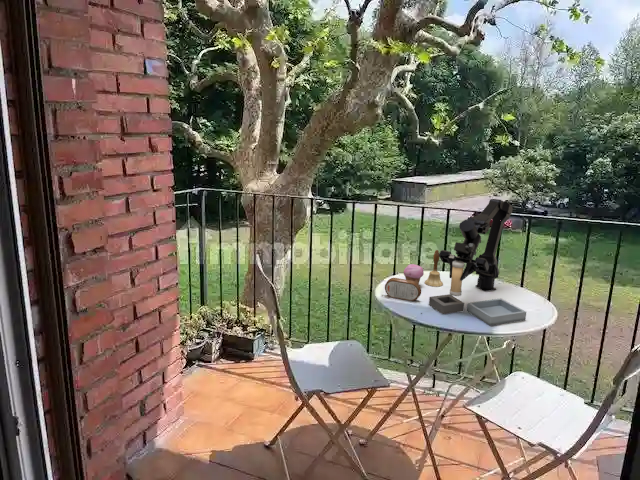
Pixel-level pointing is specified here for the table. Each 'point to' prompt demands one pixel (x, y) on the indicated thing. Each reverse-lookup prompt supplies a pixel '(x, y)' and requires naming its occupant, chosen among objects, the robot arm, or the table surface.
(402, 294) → the tin
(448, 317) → the table surface
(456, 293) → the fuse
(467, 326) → the table surface
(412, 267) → the cupcake
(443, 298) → the frame
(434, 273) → the hand bell
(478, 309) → the parts tray
